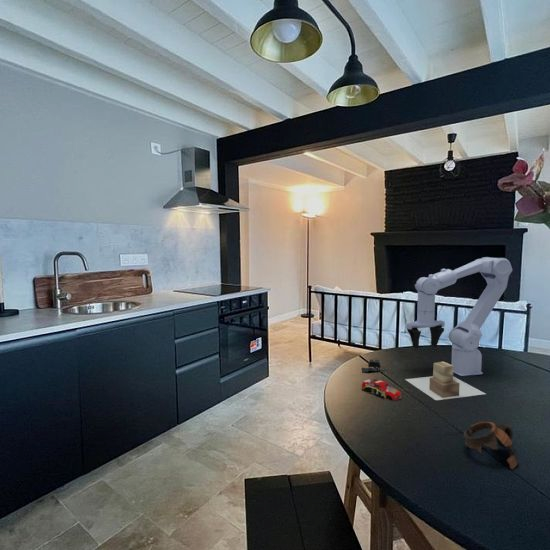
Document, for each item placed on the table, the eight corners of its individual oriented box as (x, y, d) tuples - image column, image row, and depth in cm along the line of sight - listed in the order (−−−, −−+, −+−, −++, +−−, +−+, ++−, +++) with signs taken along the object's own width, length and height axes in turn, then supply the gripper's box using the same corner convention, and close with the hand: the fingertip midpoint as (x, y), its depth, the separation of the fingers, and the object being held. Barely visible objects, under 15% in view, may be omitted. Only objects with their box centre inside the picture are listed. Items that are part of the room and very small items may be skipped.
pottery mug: (511, 479, 69) (488, 441, 70) (470, 473, 77) (451, 439, 78) (535, 446, 75) (514, 411, 76) (495, 443, 83) (476, 412, 84)
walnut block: (445, 387, 110) (445, 375, 109) (459, 395, 104) (459, 383, 103) (429, 389, 108) (429, 377, 108) (442, 397, 103) (442, 385, 102)
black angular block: (391, 370, 127) (391, 359, 127) (392, 378, 120) (392, 366, 120) (357, 367, 131) (357, 356, 130) (356, 374, 124) (356, 362, 123)
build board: (449, 375, 120) (449, 374, 120) (486, 395, 105) (486, 393, 105) (404, 380, 117) (404, 379, 117) (435, 401, 101) (435, 399, 101)
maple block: (442, 376, 109) (443, 361, 108) (452, 381, 105) (453, 365, 105) (433, 378, 108) (433, 363, 107) (442, 382, 104) (443, 367, 103)
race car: (405, 399, 104) (405, 386, 103) (395, 404, 100) (395, 392, 100) (369, 385, 114) (369, 374, 113) (359, 390, 110) (359, 378, 110)
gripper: (435, 307, 126) (434, 342, 128) (401, 309, 123) (400, 345, 125) (449, 310, 120) (447, 347, 121) (413, 313, 117) (412, 351, 118)
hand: (424, 346), depth 122 cm, fingers open, 7 cm apart
